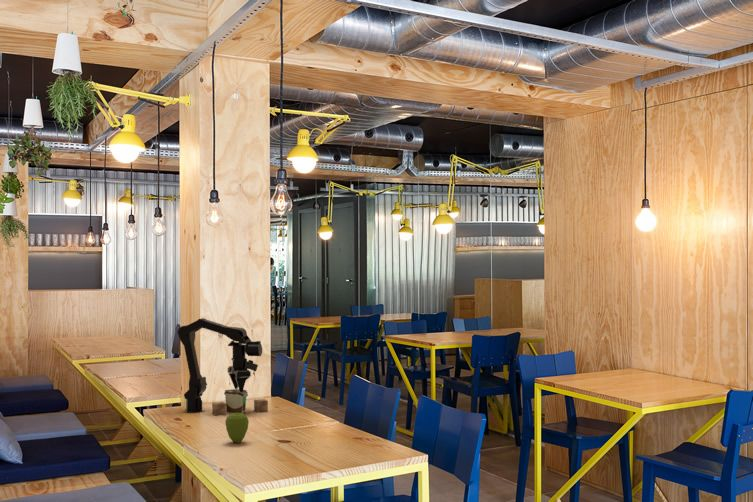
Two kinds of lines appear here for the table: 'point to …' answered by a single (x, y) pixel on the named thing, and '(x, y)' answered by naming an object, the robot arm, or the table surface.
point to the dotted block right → (261, 405)
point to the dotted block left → (219, 408)
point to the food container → (235, 401)
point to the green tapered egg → (237, 426)
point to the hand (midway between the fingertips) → (238, 390)
